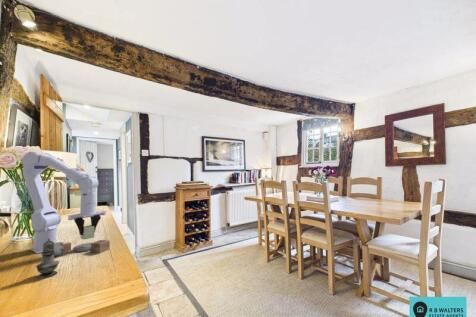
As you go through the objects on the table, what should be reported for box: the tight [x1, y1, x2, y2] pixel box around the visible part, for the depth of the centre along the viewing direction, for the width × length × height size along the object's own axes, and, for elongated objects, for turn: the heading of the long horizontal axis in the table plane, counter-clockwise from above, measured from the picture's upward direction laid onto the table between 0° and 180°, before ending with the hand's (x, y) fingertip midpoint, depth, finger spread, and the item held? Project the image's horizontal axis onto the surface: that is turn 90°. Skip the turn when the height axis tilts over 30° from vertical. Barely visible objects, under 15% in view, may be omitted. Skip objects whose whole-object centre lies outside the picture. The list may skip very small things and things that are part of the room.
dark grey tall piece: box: [35, 239, 60, 280], centre depth 75 cm, size 6×6×12 cm
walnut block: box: [89, 239, 111, 254], centre depth 98 cm, size 5×5×4 cm
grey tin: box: [54, 241, 64, 259], centre depth 92 cm, size 4×4×5 cm
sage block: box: [80, 225, 95, 241], centre depth 101 cm, size 4×4×5 cm
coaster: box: [72, 242, 92, 253], centre depth 101 cm, size 10×10×1 cm
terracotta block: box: [62, 240, 72, 253], centre depth 97 cm, size 4×6×4 cm, turn 143°
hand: (87, 233), depth 101 cm, fingers closed on sage block, 4 cm apart
